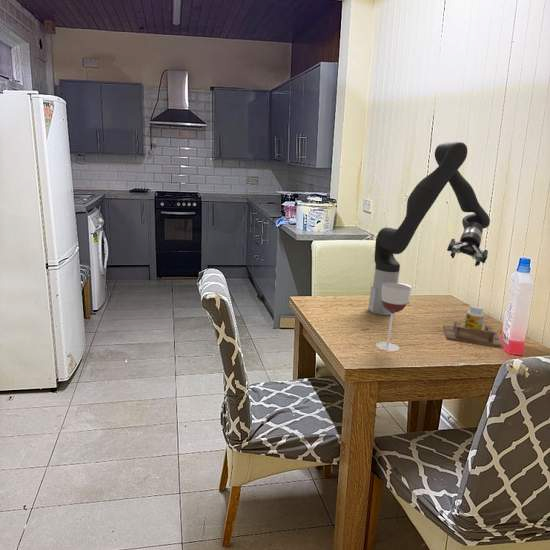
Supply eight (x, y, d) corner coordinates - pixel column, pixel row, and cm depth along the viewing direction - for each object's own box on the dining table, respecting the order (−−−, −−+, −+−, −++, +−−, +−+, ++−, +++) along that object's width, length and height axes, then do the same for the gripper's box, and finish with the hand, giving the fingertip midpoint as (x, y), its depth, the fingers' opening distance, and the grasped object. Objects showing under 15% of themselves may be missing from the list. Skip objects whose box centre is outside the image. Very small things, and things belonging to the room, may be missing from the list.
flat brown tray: (443, 327, 187) (445, 316, 187) (495, 334, 184) (497, 323, 183) (446, 339, 174) (448, 327, 173) (502, 347, 170) (504, 335, 169)
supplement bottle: (459, 332, 180) (464, 305, 178) (471, 331, 182) (476, 304, 180) (472, 338, 175) (477, 309, 173) (483, 336, 178) (488, 308, 175)
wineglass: (395, 353, 156) (404, 291, 152) (369, 345, 161) (377, 284, 157) (405, 347, 163) (414, 287, 158) (380, 339, 168) (388, 281, 163)
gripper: (455, 225, 197) (449, 245, 185) (492, 238, 194) (488, 258, 181) (449, 241, 202) (442, 261, 190) (485, 253, 198) (480, 275, 186)
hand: (465, 260), depth 186 cm, fingers open, 8 cm apart
